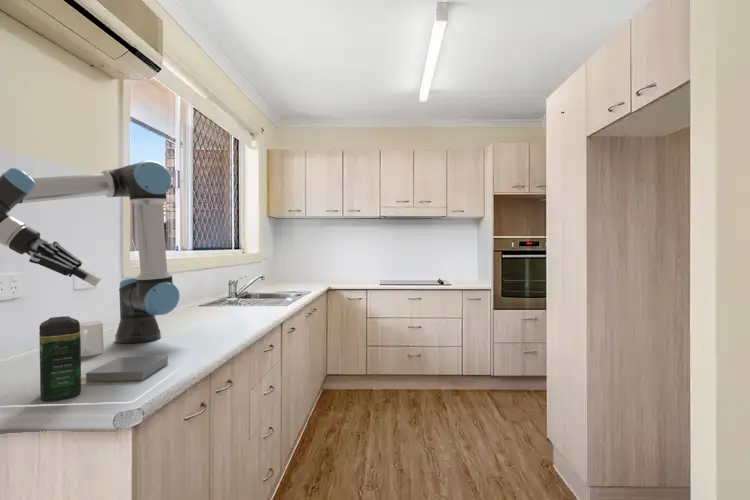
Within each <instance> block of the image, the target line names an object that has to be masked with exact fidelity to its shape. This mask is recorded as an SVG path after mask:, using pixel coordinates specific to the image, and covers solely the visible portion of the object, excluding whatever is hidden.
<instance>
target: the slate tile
mask: <svg viewBox="0 0 750 500" xmlns="http://www.w3.org/2000/svg"><path fill="white" fill-rule="evenodd" d="M168 364H169V356H168V355H156V356H155V355H154V356H153V355H152V356H151V355H150V356H149V355H148V356H123V357H122V356H121V357H116V358H114V359H112V360H111V361H108V362H106V363H104V364H102V365H100V366H98V367H96V368H94V369H92V370H89V371H88V372H86V373H85V375H86V382H102V381H134V380H142V381H144V380H145V379H147V378H148V377H149V376H151V375H152V374H154V373H156V372H158V371H159V370H160V369H162V368H163V367H165V366H166V365H168Z"/></svg>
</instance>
